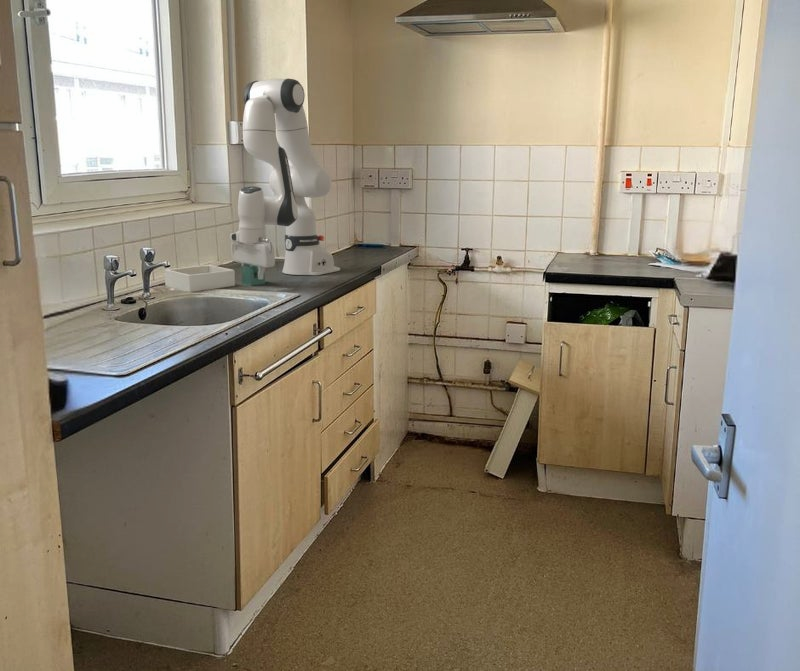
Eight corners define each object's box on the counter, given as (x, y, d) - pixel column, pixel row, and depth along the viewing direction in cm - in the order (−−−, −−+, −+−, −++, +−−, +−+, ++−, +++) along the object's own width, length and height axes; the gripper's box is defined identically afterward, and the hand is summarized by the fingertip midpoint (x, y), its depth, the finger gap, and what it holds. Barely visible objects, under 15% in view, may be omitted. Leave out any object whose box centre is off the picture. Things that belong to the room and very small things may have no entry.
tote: (210, 282, 274) (209, 264, 273) (235, 287, 264) (234, 270, 263) (165, 287, 262) (164, 269, 261) (190, 294, 252) (189, 275, 251)
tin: (257, 284, 271) (256, 264, 270) (265, 286, 268) (264, 265, 267) (242, 286, 267) (241, 265, 266) (250, 288, 264) (249, 267, 262)
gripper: (279, 238, 259) (280, 280, 262) (242, 233, 273) (243, 273, 276) (263, 240, 255) (264, 282, 258) (227, 234, 268) (228, 275, 272)
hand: (253, 277), depth 267 cm, fingers open, 6 cm apart
